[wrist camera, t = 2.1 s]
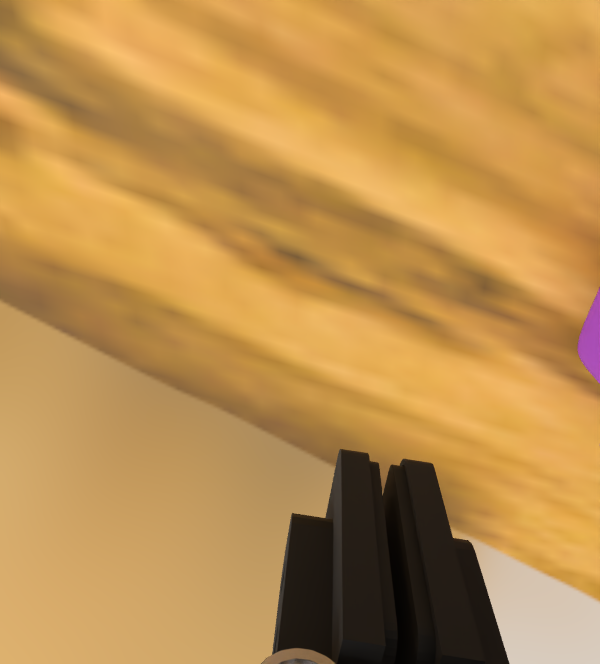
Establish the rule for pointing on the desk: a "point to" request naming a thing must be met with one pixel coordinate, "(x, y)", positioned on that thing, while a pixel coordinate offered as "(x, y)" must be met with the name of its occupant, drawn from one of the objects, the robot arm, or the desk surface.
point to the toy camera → (591, 340)
